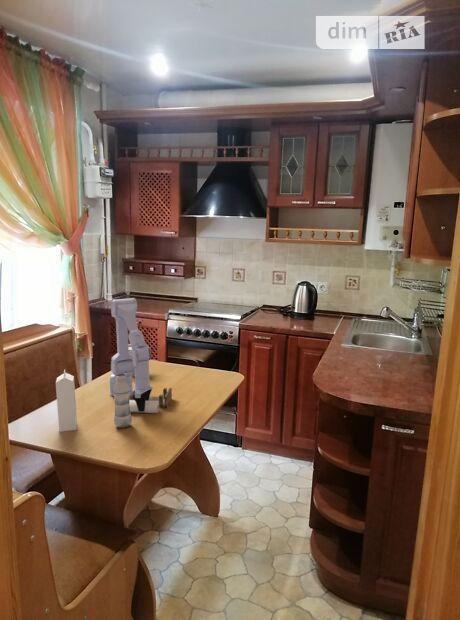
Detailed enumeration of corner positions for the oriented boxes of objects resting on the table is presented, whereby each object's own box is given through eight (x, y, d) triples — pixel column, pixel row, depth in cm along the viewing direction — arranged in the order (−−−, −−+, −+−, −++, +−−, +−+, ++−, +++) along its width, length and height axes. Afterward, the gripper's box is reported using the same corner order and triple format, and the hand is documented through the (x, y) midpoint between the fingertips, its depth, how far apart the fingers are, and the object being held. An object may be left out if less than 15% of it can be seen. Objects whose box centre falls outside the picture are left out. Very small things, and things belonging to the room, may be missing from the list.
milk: (59, 432, 164) (54, 374, 160) (60, 425, 170) (55, 369, 166) (76, 430, 166) (72, 372, 161) (77, 423, 171) (73, 367, 167)
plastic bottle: (116, 431, 165) (114, 379, 161) (112, 424, 170) (110, 373, 167) (134, 427, 168) (132, 376, 164) (129, 420, 173) (127, 371, 170)
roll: (126, 414, 180) (126, 402, 179) (130, 409, 185) (130, 398, 184) (156, 415, 179) (156, 403, 178) (159, 410, 184) (159, 399, 183)
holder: (130, 406, 187) (130, 395, 186) (137, 397, 197) (137, 386, 196) (166, 408, 186) (166, 396, 185) (171, 398, 195) (171, 388, 194)
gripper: (147, 382, 172) (148, 416, 174) (156, 370, 186) (157, 401, 188) (129, 382, 172) (130, 415, 175) (139, 370, 186) (140, 401, 189)
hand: (143, 408), depth 182 cm, fingers closed on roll, 5 cm apart
